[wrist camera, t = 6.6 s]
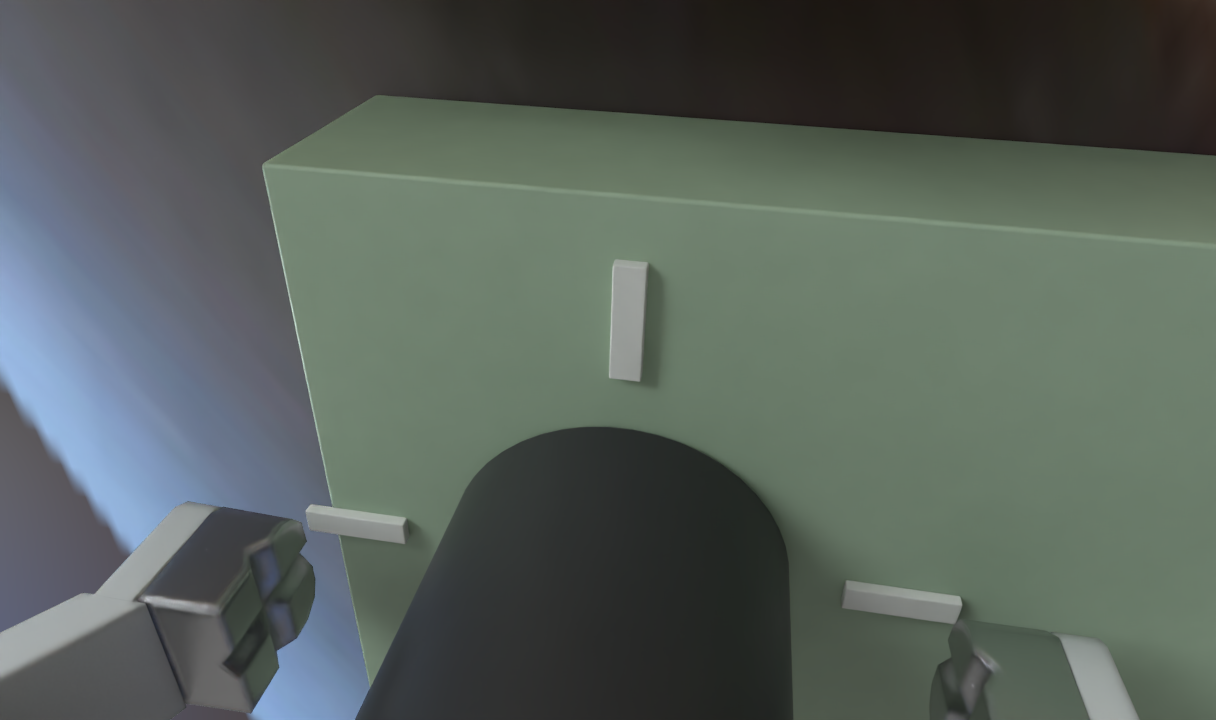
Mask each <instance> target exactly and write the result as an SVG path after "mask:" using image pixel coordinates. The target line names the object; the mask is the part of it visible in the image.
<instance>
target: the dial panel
mask: <svg viewBox="0 0 1216 720" xmlns="http://www.w3.org/2000/svg"><path fill="white" fill-rule="evenodd" d="M262 169H263V174H264V179H265V183H266V188H267V193H268V198H269V203H270V207H271V212H272V217H273V222H274V227H275V232H276V236H277V241H278V246H279V251H280V256H281V260H282V265H283V270H284V275H285V280H286V285H287V289H288V294H289V299H290V304H291V309H292V314H293V318H294V323H295V328H296V333H297V338H298V342H299V347H300V352H301V357H302V362H303V367H304V371H305V376H306V381H307V386H308V391H309V395H310V400H311V405H312V410H313V415H314V420H315V424H316V429H317V434H318V439H319V444H320V449H321V453H322V458H323V463H324V468H325V473H326V477H327V482H328V487H329V492H330V497H331V502H332V506H333V507H327V506H320V505H313V504H311V505H310V506H309V507H308V509H307V510H306V516H307V520H308V525H309V529H310V530H312V531H318V532H325V533H332V534H338V535H339V540H340V545H341V550H342V555H343V559H344V564H345V569H346V574H347V579H348V584H349V588H350V593H351V598H352V603H353V608H354V612H355V617H356V622H357V627H358V632H359V637H360V641H361V646H362V651H363V656H364V661H365V665H366V670H367V675H368V680H369V685H370V687H371V685H372V683H373V681H374V679H375V677H376V675H377V673H378V671H379V669H380V667H381V665H382V662H383V660H384V658H385V656H386V654H387V652H388V650H389V648H390V646H391V644H392V642H393V639H394V637H395V635H396V633H397V631H398V629H399V627H400V625H401V623H402V621H403V619H404V617H405V614H406V612H407V610H408V608H409V606H410V604H411V602H412V600H413V598H414V596H415V594H416V592H417V589H418V587H419V585H420V583H421V581H422V579H423V577H424V575H425V573H426V571H427V569H428V567H429V564H430V562H431V560H432V558H433V556H434V554H435V552H436V550H437V548H438V546H439V544H440V541H441V539H442V537H443V535H444V533H445V531H446V529H447V527H448V525H449V523H450V521H451V519H452V516H453V514H454V512H455V510H456V508H457V506H458V504H459V502H460V500H461V498H462V496H463V494H464V491H465V489H466V488H467V486H468V485H469V483H470V482H471V481H472V479H473V478H474V476H475V475H476V474H477V473H478V472H479V471H480V470H481V469H482V468H483V467H484V466H485V465H486V464H487V463H488V462H489V461H490V460H492V459H493V458H494V457H496V456H497V455H499V454H500V453H501V452H503V451H504V450H506V449H508V448H510V447H512V446H514V445H516V444H517V443H519V442H521V441H524V440H526V439H529V438H532V437H535V436H537V435H540V434H544V433H548V432H552V431H557V430H561V429H569V428H578V427H615V428H624V429H633V430H638V431H642V432H647V433H651V434H656V435H659V436H662V437H665V438H668V439H671V440H674V441H677V442H680V443H682V444H685V445H687V446H689V447H691V448H693V449H696V450H698V451H700V452H702V453H704V454H706V455H707V456H709V457H711V458H712V459H714V460H716V461H717V462H719V463H721V464H722V465H724V466H725V467H726V468H728V469H729V470H730V471H732V472H733V473H734V474H735V475H737V476H738V477H739V478H741V479H742V480H743V481H744V482H745V483H746V484H747V485H748V486H749V487H750V488H751V489H752V490H753V491H754V492H755V493H756V494H757V496H758V497H759V498H760V500H761V501H762V502H763V503H764V505H765V506H766V507H767V509H768V510H769V511H770V513H771V515H772V517H773V518H774V520H775V522H776V524H777V525H778V527H779V529H780V532H781V535H782V537H783V540H784V543H785V545H786V550H787V556H788V561H789V587H790V621H791V655H792V688H793V720H930V714H929V702H930V692H931V684H932V681H933V678H934V675H935V672H936V669H937V666H938V664H940V663H942V662H944V661H945V660H947V659H949V658H951V653H950V648H949V644H948V638H949V635H950V633H951V630H952V628H953V625H954V624H955V623H956V622H957V621H958V620H960V619H966V620H974V621H981V622H988V623H995V624H1002V625H1009V626H1017V627H1024V628H1031V629H1038V630H1045V631H1048V632H1057V633H1064V634H1071V635H1078V636H1085V637H1092V638H1099V639H1100V640H1101V641H1102V642H1103V643H1104V644H1105V645H1106V646H1107V647H1108V649H1109V651H1110V653H1111V656H1112V658H1113V660H1114V662H1115V665H1116V667H1117V669H1118V671H1119V674H1120V676H1121V678H1122V680H1123V683H1124V685H1125V687H1126V689H1127V692H1128V694H1129V696H1130V698H1131V701H1132V703H1133V705H1134V707H1135V710H1136V712H1137V714H1138V716H1139V719H1140V720H1216V156H1212V155H1199V154H1185V153H1171V152H1157V151H1143V150H1129V149H1116V148H1102V147H1088V146H1074V145H1060V144H1047V143H1033V142H1019V141H1005V140H991V139H977V138H964V137H950V136H936V135H922V134H908V133H894V132H881V131H867V130H853V129H839V128H825V127H811V126H798V125H784V124H770V123H756V122H742V121H729V120H715V119H701V118H687V117H673V116H659V115H646V114H632V113H618V112H604V111H590V110H576V109H563V108H549V107H535V106H521V105H507V104H493V103H480V102H466V101H452V100H438V99H424V98H411V97H397V96H383V95H376V96H374V97H373V98H371V99H369V100H368V101H366V102H364V103H363V104H361V105H359V106H358V107H356V108H354V109H353V110H351V111H349V112H348V113H346V114H344V115H343V116H341V117H339V118H338V119H336V120H335V121H333V122H331V123H330V124H328V125H326V126H325V127H323V128H321V129H320V130H318V131H316V132H315V133H313V134H311V135H310V136H308V137H306V138H305V139H303V140H301V141H300V142H298V143H296V144H295V145H293V146H291V147H290V148H288V149H286V150H285V151H283V152H282V153H280V154H278V155H277V156H275V157H273V158H272V159H270V160H268V161H267V162H265V163H263V166H262Z"/></svg>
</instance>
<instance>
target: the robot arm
mask: <svg viewBox="0 0 1216 720" xmlns="http://www.w3.org/2000/svg"><path fill="white" fill-rule="evenodd" d="M306 542H307V540H306V537H305V533H304V530H303V526H302V523H301V522H299V521H296V520H293V519H289V518H283V517H277V516H272V515H266V514H260V513H255V512H249V511H244V510H238V509H232V508H227V507H218V506H212V505H206V504H201V503H195V502H189V501H187V502H185V503H183V504H181V505H179V506H176V507H175V508H174V509H173V510H172V511H171V512H170V513H169V514H168V515H167V516H166V517H165V518H164V519H163V520H162V522H161V523H160V524H159V525H158V526H157V527H156V528H155V529H154V530H153V531H152V532H151V533H150V534H149V536H148V537H147V538H146V539H145V540H144V541H143V542H142V543H141V544H140V545H139V546H138V547H137V549H136V550H135V551H134V552H133V553H132V554H131V555H130V556H129V557H128V558H127V559H126V560H125V562H124V563H123V564H122V565H121V566H120V567H119V568H118V569H117V570H116V571H115V572H114V573H113V575H112V576H111V577H110V578H109V579H108V580H107V581H106V582H105V583H104V584H103V585H102V587H101V588H100V589H99V590H98V591H97V592H96V593H95V594H87V593H82V594H79V595H77V596H75V597H73V598H72V599H69V600H67V601H65V602H63V603H61V604H59V605H57V606H55V607H53V608H51V609H49V610H46V611H44V612H42V613H40V614H38V615H36V616H34V617H32V618H30V619H28V620H26V621H24V622H22V623H20V624H18V625H16V626H13V627H12V628H10V629H7V630H5V631H3V632H1V633H0V720H170V719H172V718H173V717H174V716H176V715H177V714H178V713H180V712H181V711H182V710H184V709H185V708H186V704H193V705H199V706H206V707H213V708H219V709H226V710H232V711H239V712H245V713H252V711H253V709H254V708H255V706H256V704H257V703H258V701H259V700H260V698H261V696H262V695H263V693H264V691H265V690H266V688H267V687H268V685H269V683H270V682H271V680H272V678H273V677H274V675H275V673H276V672H277V670H278V669H279V664H278V657H277V650H279V649H280V648H282V647H284V646H285V645H287V644H288V643H290V642H292V641H293V640H295V639H296V638H297V637H298V635H299V634H300V632H301V630H302V628H303V627H304V625H305V623H306V621H307V620H308V617H309V614H310V610H311V607H312V604H313V601H314V597H315V576H314V571H313V566H312V565H311V564H310V563H309V562H308V561H307V560H306V559H305V558H304V557H303V556H302V555H301V554H300V553H299V552H300V551H301V549H302V548H303V546H304V545H305V543H306ZM948 644H949V648H950V653H951V658H949V659H947V660H945V661H944V662H942V663H940V664H938V666H937V669H936V672H935V675H934V678H933V681H932V684H931V692H930V702H929V714H930V720H1140V719H1139V716H1138V714H1137V712H1136V710H1135V707H1134V705H1133V703H1132V701H1131V698H1130V696H1129V694H1128V692H1127V689H1126V687H1125V685H1124V683H1123V680H1122V678H1121V676H1120V674H1119V671H1118V669H1117V667H1116V665H1115V662H1114V660H1113V658H1112V656H1111V653H1110V651H1109V649H1108V647H1107V646H1106V645H1105V644H1104V643H1103V642H1102V641H1101V640H1100V639H1099V638H1092V637H1085V636H1078V635H1071V634H1064V633H1057V632H1048V631H1045V630H1038V629H1031V628H1024V627H1017V626H1009V625H1002V624H995V623H988V622H981V621H974V620H966V619H960V620H958V621H957V622H956V623H955V624H954V625H953V628H952V630H951V633H950V635H949V638H948ZM185 703H186V704H185Z"/></svg>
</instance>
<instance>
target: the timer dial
mask: <svg viewBox="0 0 1216 720" xmlns="http://www.w3.org/2000/svg"><path fill="white" fill-rule="evenodd" d="M355 720H793V688H792V655H791V621H790V587H789V561H788V556H787V550H786V545H785V543H784V540H783V537H782V535H781V532H780V529H779V527H778V525H777V524H776V522H775V520H774V518H773V517H772V515H771V513H770V511H769V510H768V509H767V507H766V506H765V505H764V503H763V502H762V501H761V500H760V498H759V497H758V496H757V494H756V493H755V492H754V491H753V490H752V489H751V488H750V487H749V486H748V485H747V484H746V483H745V482H744V481H743V480H742V479H741V478H739V477H738V476H737V475H735V474H734V473H733V472H732V471H730V470H729V469H728V468H726V467H725V466H724V465H722V464H721V463H719V462H717V461H716V460H714V459H712V458H711V457H709V456H707V455H706V454H704V453H702V452H700V451H698V450H696V449H693V448H691V447H689V446H687V445H685V444H682V443H680V442H677V441H674V440H671V439H668V438H665V437H662V436H659V435H656V434H651V433H647V432H642V431H638V430H633V429H624V428H615V427H578V428H569V429H561V430H557V431H552V432H548V433H544V434H540V435H537V436H535V437H532V438H529V439H526V440H524V441H521V442H519V443H517V444H516V445H514V446H512V447H510V448H508V449H506V450H504V451H503V452H501V453H500V454H499V455H497V456H496V457H494V458H493V459H492V460H490V461H489V462H488V463H487V464H486V465H485V466H484V467H483V468H482V469H481V470H480V471H479V472H478V473H477V474H476V475H475V476H474V478H473V479H472V481H471V482H470V483H469V485H468V486H467V488H466V489H465V491H464V494H463V496H462V498H461V500H460V502H459V504H458V506H457V508H456V510H455V512H454V514H453V516H452V519H451V521H450V523H449V525H448V527H447V529H446V531H445V533H444V535H443V537H442V539H441V541H440V544H439V546H438V548H437V550H436V552H435V554H434V556H433V558H432V560H431V562H430V564H429V567H428V569H427V571H426V573H425V575H424V577H423V579H422V581H421V583H420V585H419V587H418V589H417V592H416V594H415V596H414V598H413V600H412V602H411V604H410V606H409V608H408V610H407V612H406V614H405V617H404V619H403V621H402V623H401V625H400V627H399V629H398V631H397V633H396V635H395V637H394V639H393V642H392V644H391V646H390V648H389V650H388V652H387V654H386V656H385V658H384V660H383V662H382V665H381V667H380V669H379V671H378V673H377V675H376V677H375V679H374V681H373V683H372V685H371V687H370V690H369V692H368V694H367V696H366V698H365V700H364V702H363V704H362V706H361V708H360V710H359V712H358V715H357V717H356V719H355Z"/></svg>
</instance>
